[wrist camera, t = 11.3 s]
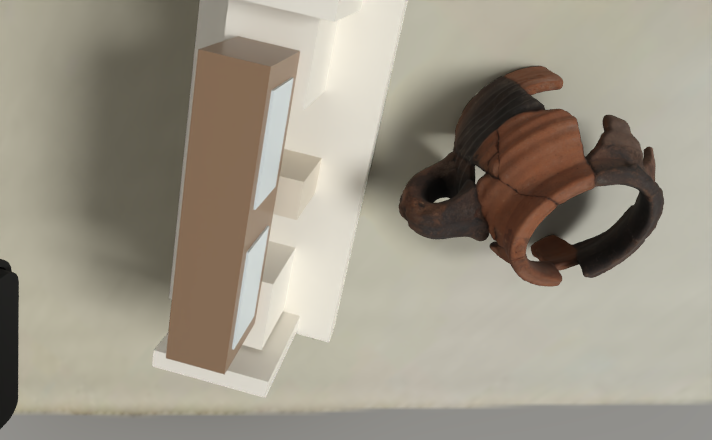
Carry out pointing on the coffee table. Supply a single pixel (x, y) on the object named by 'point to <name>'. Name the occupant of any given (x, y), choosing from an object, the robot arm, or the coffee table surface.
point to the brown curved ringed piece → (532, 181)
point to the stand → (306, 165)
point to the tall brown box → (228, 196)
